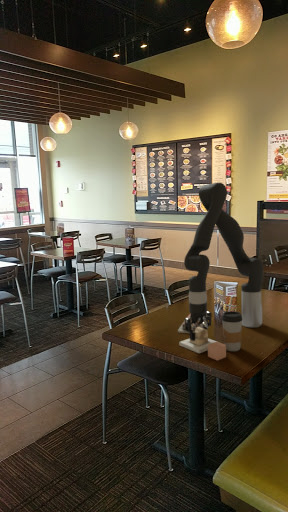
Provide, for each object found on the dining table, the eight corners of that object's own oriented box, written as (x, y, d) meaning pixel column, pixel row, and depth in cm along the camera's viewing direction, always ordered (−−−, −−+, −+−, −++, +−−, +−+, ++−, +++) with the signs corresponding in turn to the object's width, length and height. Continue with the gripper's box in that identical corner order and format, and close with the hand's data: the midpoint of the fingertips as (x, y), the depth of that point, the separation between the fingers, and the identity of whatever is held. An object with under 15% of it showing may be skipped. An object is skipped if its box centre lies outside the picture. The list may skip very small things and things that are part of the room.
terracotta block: (216, 353, 154) (216, 341, 153) (226, 357, 150) (225, 345, 149) (208, 356, 151) (207, 344, 150) (217, 360, 147) (217, 348, 146)
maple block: (198, 338, 166) (198, 326, 165) (208, 342, 162) (207, 329, 161) (189, 342, 163) (189, 329, 162) (198, 345, 159) (198, 333, 158)
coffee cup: (219, 345, 161) (219, 311, 159) (238, 344, 162) (238, 310, 160) (225, 353, 153) (225, 317, 151) (245, 351, 154) (245, 316, 152)
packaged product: (185, 312, 196) (204, 313, 192) (185, 321, 196) (204, 322, 193) (177, 323, 179) (198, 325, 176) (177, 333, 179) (198, 335, 176)
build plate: (199, 338, 171) (199, 335, 171) (219, 345, 161) (219, 342, 161) (179, 345, 164) (179, 341, 164) (199, 353, 154) (199, 350, 154)
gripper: (191, 306, 152) (192, 345, 155) (216, 299, 161) (216, 336, 163) (179, 302, 158) (180, 340, 161) (203, 296, 167) (204, 332, 169)
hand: (198, 338), depth 162 cm, fingers open, 6 cm apart
